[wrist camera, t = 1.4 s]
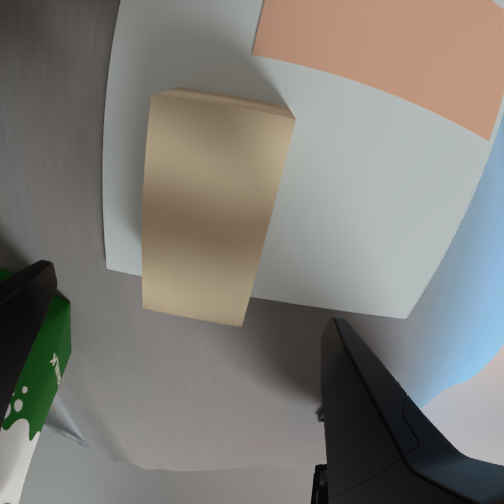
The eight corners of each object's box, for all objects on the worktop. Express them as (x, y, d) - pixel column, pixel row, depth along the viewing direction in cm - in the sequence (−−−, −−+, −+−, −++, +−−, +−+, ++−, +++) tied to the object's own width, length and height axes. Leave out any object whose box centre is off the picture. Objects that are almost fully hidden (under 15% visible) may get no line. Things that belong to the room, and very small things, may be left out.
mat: (404, 315, 20) (406, 319, 20) (109, 264, 18) (106, 269, 18) (521, -12, 7) (526, -12, 7) (167, -127, 5) (164, -131, 5)
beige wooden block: (245, 282, 18) (241, 327, 15) (160, 266, 18) (143, 308, 15) (288, 106, 13) (296, 119, 10) (176, 87, 12) (151, 95, 9)
